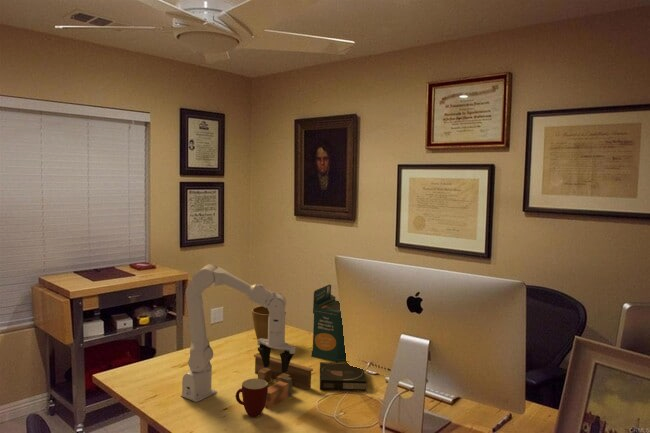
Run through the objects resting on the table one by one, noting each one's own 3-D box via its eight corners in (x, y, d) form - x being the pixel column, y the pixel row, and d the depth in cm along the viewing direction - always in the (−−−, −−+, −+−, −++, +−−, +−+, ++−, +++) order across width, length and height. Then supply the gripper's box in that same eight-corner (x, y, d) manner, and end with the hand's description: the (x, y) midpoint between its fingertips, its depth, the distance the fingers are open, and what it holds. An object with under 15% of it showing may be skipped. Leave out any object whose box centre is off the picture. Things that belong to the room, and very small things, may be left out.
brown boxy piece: (270, 408, 159) (270, 390, 158) (261, 405, 160) (262, 387, 160) (291, 395, 169) (292, 378, 168) (283, 392, 171) (284, 375, 170)
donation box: (328, 345, 219) (330, 283, 217) (361, 352, 212) (364, 288, 210) (311, 356, 205) (313, 291, 202) (346, 364, 198) (349, 296, 195)
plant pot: (278, 353, 207) (279, 316, 206) (245, 348, 211) (246, 312, 209) (289, 341, 222) (290, 307, 221) (258, 337, 225) (259, 303, 224)
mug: (229, 417, 152) (230, 386, 151) (239, 405, 160) (240, 376, 159) (262, 422, 150) (263, 390, 149) (270, 410, 158) (271, 380, 157)
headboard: (299, 396, 168) (299, 376, 167) (243, 378, 181) (243, 359, 180) (312, 388, 175) (313, 368, 174) (257, 371, 188) (258, 352, 187)
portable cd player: (319, 391, 173) (320, 380, 173) (319, 372, 190) (320, 362, 190) (366, 393, 174) (366, 382, 173) (361, 373, 191) (362, 363, 190)
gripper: (300, 331, 165) (299, 370, 166) (266, 323, 172) (265, 360, 174) (288, 337, 159) (287, 377, 160) (253, 328, 166) (253, 367, 167)
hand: (275, 369), depth 166 cm, fingers open, 7 cm apart
